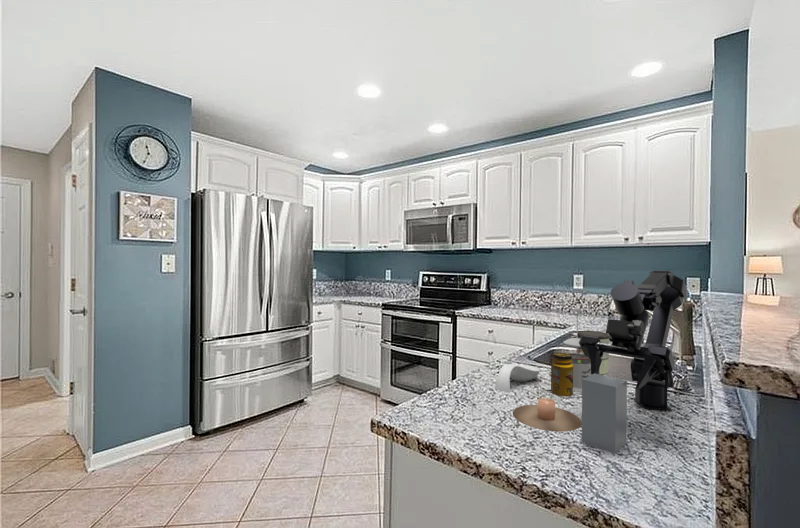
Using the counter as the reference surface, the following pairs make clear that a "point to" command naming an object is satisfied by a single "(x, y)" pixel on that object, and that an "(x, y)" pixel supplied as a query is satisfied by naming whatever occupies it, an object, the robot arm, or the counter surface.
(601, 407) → the grey tall block
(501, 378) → the white curved piece
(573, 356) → the french press
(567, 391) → the condiment
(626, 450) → the counter surface
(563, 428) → the plate
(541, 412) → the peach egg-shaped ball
